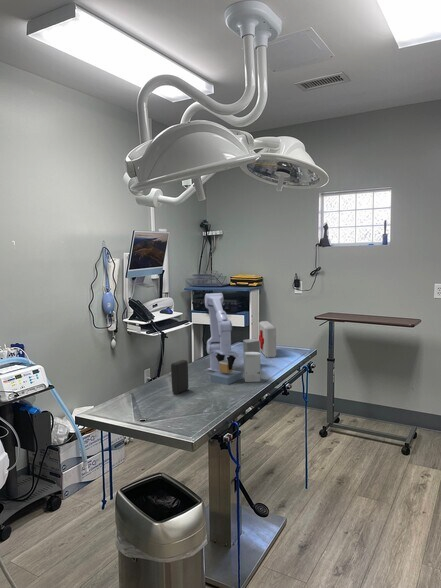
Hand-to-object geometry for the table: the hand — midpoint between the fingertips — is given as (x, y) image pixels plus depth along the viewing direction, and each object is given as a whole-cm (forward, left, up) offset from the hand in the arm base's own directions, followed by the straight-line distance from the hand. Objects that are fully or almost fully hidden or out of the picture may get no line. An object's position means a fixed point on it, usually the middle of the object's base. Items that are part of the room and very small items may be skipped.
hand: (226, 368), depth 231 cm
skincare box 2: (-6, +12, -6) cm, 15 cm away
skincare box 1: (-29, -2, -6) cm, 30 cm away
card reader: (+27, -8, -6) cm, 29 cm away
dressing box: (0, 0, -6) cm, 6 cm away
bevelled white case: (-58, -9, -6) cm, 59 cm away
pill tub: (0, 0, -2) cm, 2 cm away
